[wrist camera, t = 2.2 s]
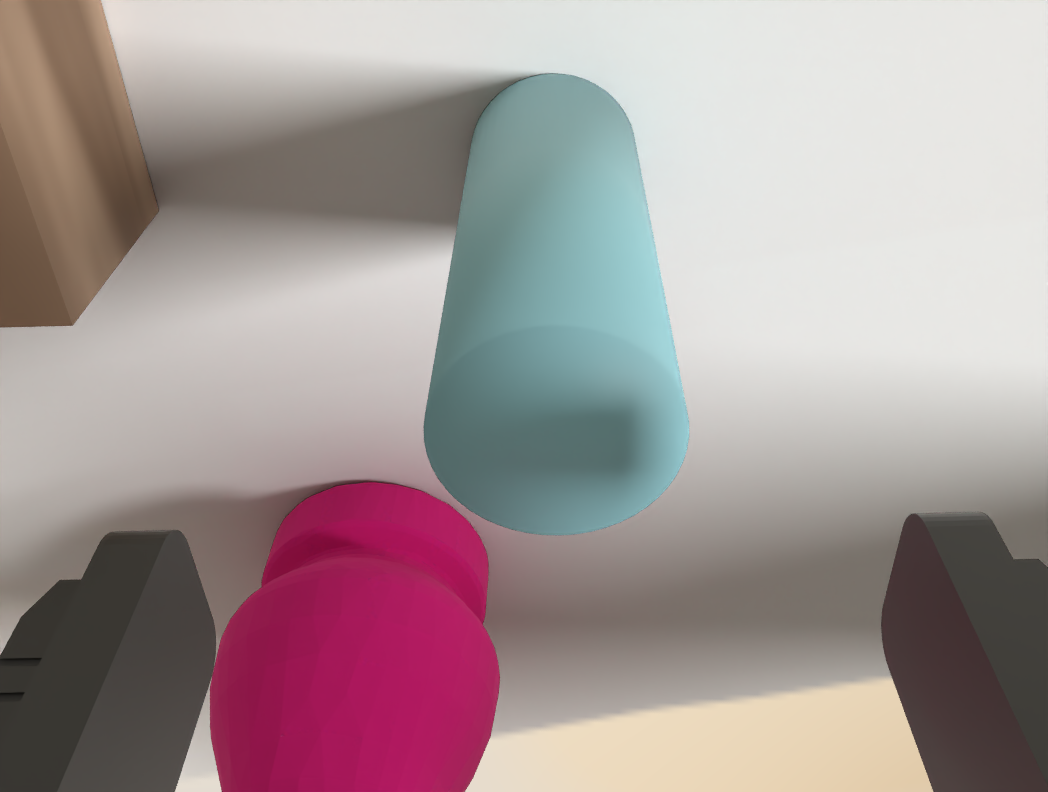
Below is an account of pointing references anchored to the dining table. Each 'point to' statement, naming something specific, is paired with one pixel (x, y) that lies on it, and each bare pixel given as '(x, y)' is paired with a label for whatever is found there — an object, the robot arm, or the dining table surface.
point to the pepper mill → (359, 652)
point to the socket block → (64, 161)
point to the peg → (555, 322)
